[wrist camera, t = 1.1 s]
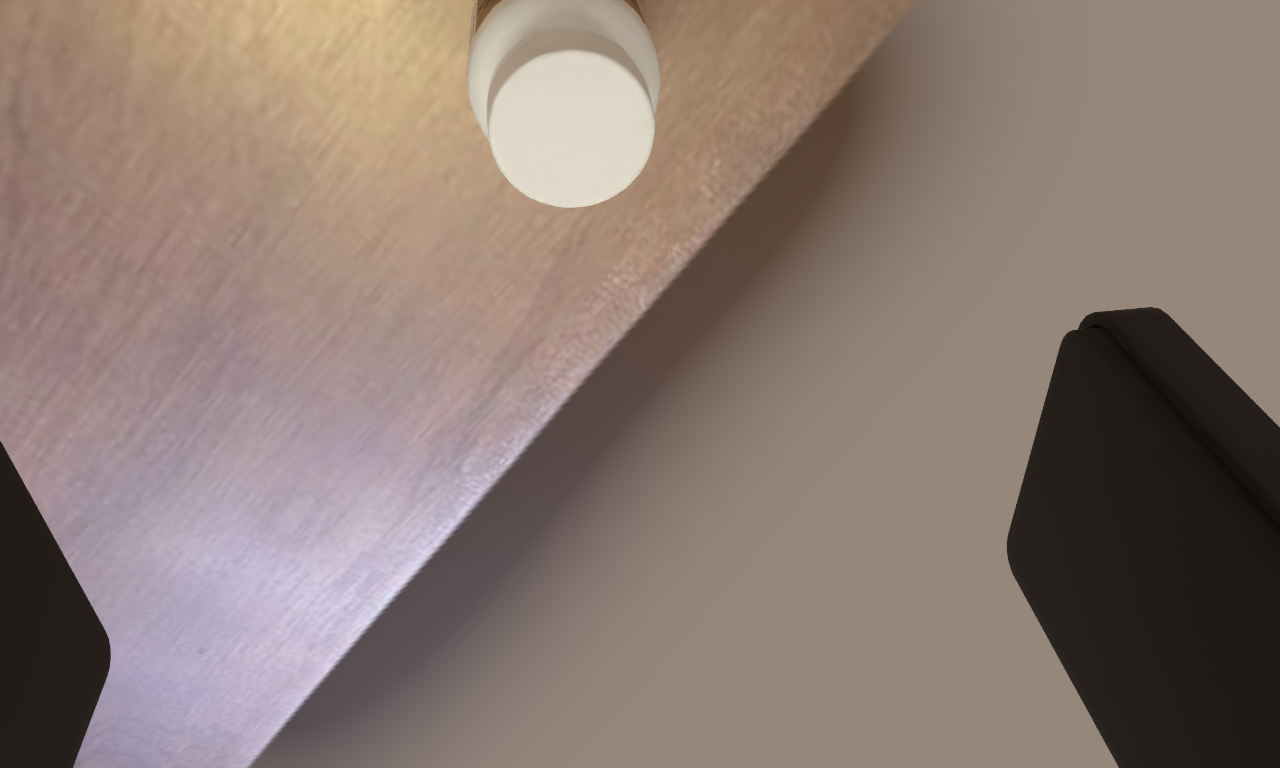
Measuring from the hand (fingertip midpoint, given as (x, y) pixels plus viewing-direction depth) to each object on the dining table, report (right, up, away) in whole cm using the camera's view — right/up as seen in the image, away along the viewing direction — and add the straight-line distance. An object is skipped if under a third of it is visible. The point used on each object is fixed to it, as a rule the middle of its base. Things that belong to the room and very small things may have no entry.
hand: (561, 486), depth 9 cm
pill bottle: (-2, +11, +17) cm, 20 cm away
